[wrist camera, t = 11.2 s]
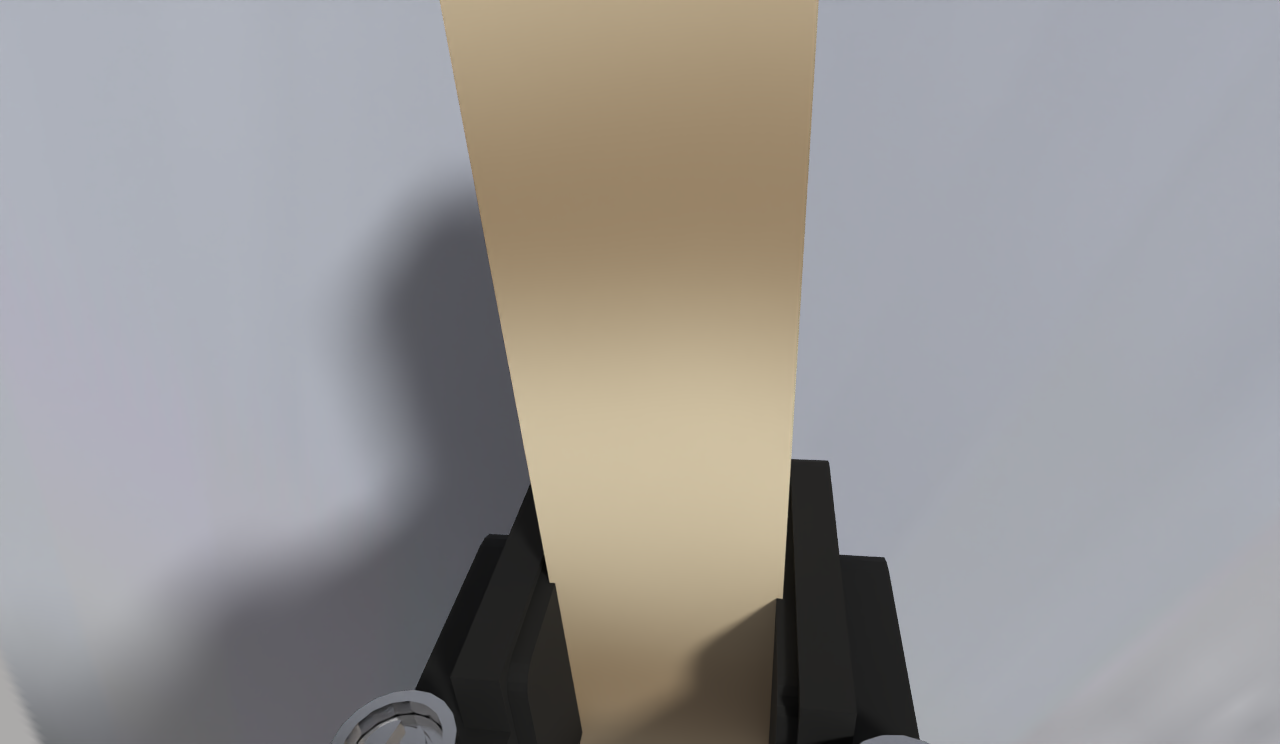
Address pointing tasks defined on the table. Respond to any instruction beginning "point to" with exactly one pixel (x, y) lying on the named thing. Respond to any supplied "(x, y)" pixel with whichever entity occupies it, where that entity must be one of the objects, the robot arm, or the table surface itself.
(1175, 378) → the table surface
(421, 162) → the table surface
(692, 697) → the curved plank on base
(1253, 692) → the table surface
